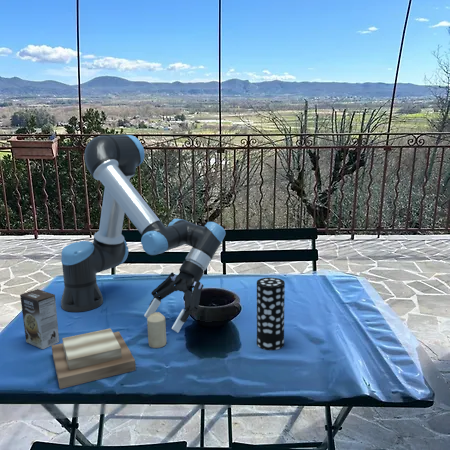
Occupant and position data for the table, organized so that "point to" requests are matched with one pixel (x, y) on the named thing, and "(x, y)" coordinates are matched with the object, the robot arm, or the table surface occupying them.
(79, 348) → the two-tier square platform
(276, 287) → the white-spotted black cylinder
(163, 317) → the candle
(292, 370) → the table surface
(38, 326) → the coffee box
